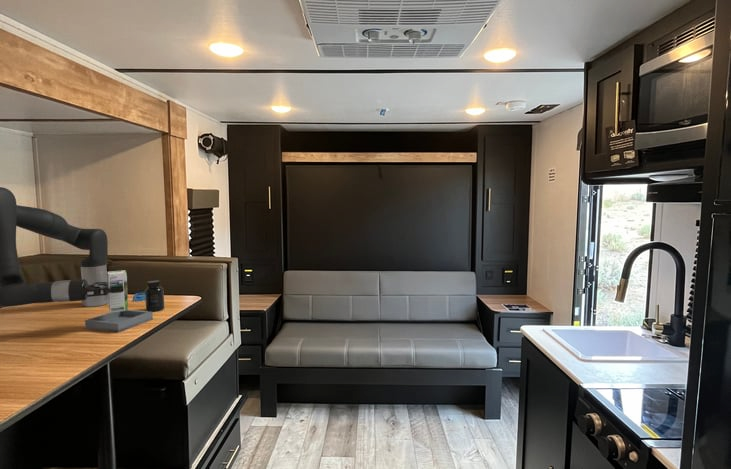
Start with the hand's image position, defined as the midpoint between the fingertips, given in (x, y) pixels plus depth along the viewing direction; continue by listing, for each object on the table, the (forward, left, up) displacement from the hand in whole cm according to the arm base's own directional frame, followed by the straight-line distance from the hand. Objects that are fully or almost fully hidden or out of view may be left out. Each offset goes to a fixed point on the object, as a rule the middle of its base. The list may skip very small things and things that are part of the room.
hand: (124, 287), depth 146 cm
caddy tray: (-2, -1, -14) cm, 14 cm away
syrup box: (-2, -2, -9) cm, 9 cm away
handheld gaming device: (-26, +33, -14) cm, 44 cm away
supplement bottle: (-4, +17, -14) cm, 22 cm away
